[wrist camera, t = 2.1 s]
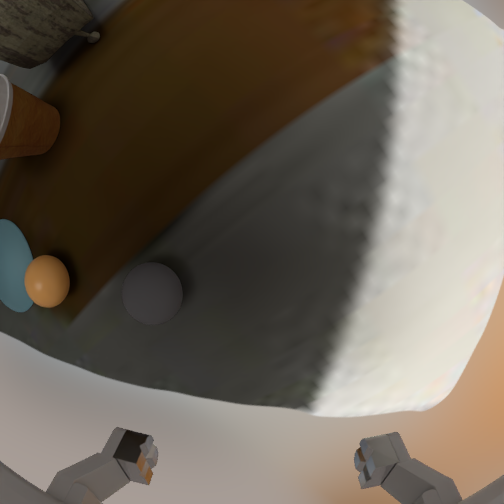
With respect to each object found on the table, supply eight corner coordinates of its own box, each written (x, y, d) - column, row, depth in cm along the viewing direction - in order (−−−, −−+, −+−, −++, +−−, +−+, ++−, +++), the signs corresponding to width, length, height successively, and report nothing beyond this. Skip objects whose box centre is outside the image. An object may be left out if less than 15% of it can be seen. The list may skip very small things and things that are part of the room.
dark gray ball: (138, 306, 28) (116, 331, 23) (134, 254, 27) (107, 270, 21) (189, 311, 28) (176, 340, 23) (188, 257, 27) (171, 274, 21)
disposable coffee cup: (20, 114, 23) (-41, 102, 11) (69, 82, 23) (6, 53, 11) (23, 178, 25) (-45, 182, 13) (73, 151, 25) (-3, 142, 13)
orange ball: (48, 293, 28) (21, 311, 23) (42, 249, 27) (11, 260, 21) (82, 299, 28) (54, 319, 23) (75, 251, 27) (44, 264, 21)
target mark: (-6, 304, 29) (-6, 304, 29) (-18, 220, 26) (-19, 220, 26) (45, 318, 29) (44, 319, 29) (30, 217, 26) (29, 217, 26)
